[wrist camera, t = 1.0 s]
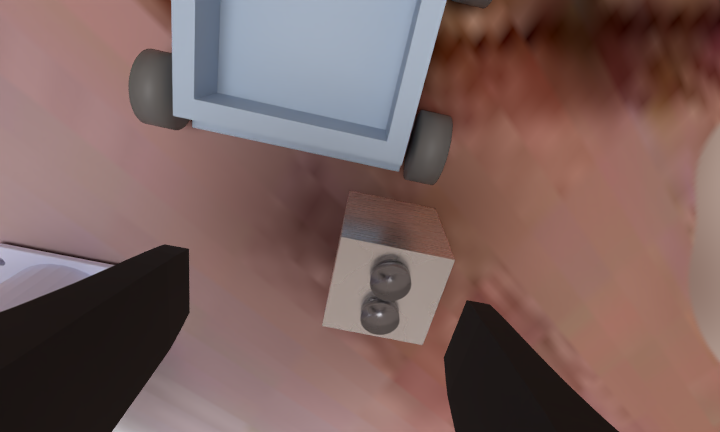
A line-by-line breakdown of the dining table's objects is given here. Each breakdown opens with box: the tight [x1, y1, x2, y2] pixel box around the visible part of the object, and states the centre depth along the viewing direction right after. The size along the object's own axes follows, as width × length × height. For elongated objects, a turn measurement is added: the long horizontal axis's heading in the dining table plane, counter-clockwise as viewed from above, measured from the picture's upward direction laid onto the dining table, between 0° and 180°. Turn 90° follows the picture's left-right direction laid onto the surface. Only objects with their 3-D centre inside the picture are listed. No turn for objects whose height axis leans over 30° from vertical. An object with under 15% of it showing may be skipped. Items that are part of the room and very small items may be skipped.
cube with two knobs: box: [322, 191, 455, 345], centre depth 17 cm, size 4×4×6 cm
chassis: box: [129, 0, 492, 185], centre depth 14 cm, size 10×12×3 cm
